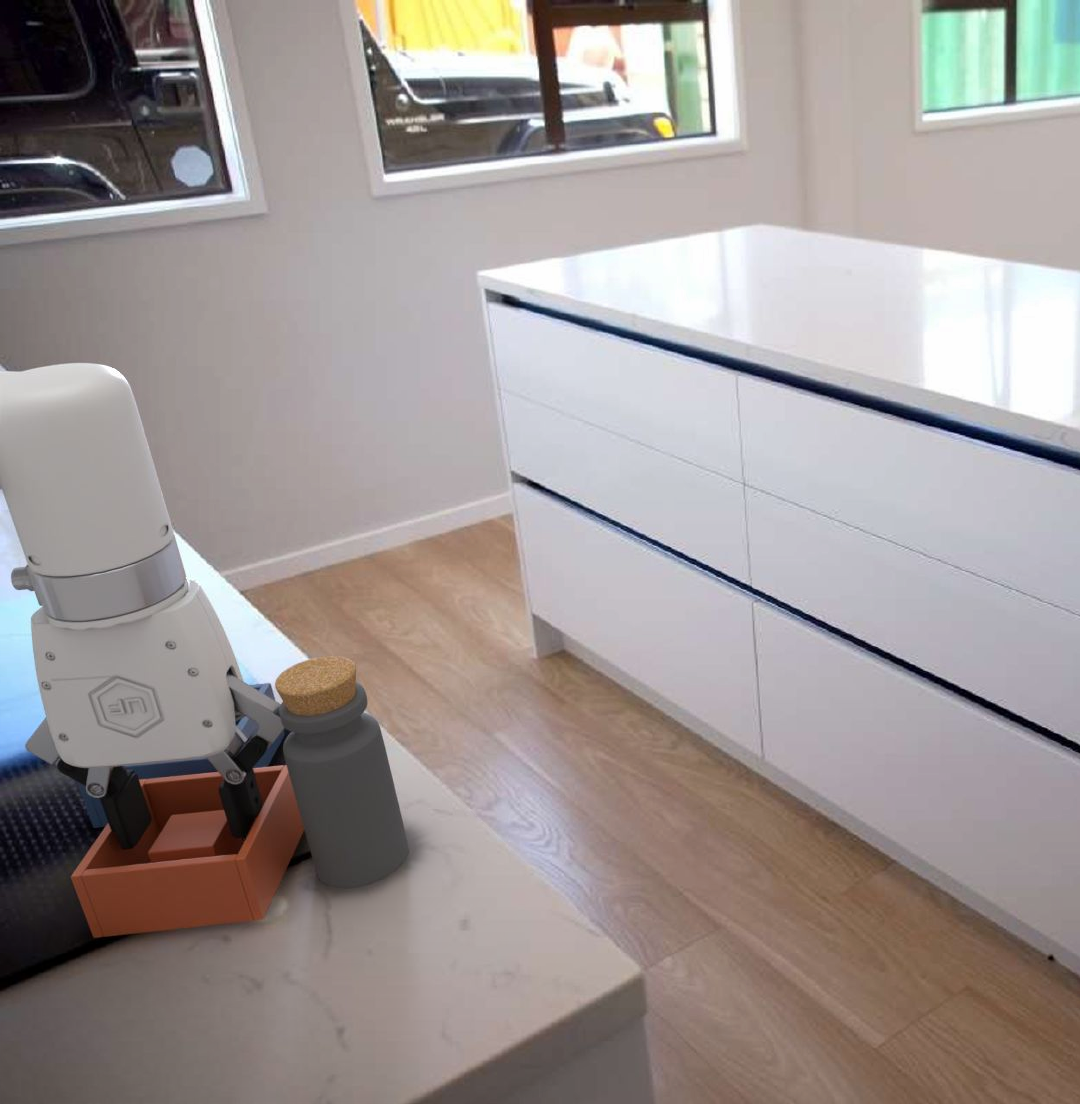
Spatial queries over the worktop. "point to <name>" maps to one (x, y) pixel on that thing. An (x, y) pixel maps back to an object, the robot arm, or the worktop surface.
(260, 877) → the terracotta bin
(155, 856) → the terracotta block
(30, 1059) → the worktop surface
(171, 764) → the blue bin
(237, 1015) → the worktop surface
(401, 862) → the bottle
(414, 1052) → the worktop surface
